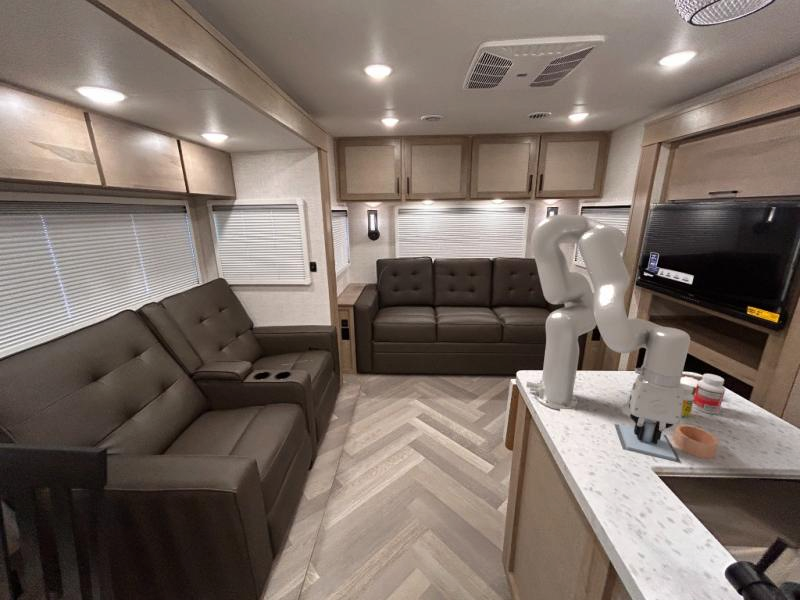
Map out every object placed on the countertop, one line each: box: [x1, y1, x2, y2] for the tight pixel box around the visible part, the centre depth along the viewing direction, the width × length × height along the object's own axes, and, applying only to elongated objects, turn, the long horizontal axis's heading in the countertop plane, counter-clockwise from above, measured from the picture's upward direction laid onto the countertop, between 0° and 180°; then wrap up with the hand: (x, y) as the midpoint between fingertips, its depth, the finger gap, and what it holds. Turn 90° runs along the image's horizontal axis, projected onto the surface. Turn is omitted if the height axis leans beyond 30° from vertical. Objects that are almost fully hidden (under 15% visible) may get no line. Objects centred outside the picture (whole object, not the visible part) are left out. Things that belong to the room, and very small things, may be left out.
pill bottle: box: [692, 373, 726, 415], centre depth 97 cm, size 6×6×11 cm
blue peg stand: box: [618, 419, 676, 461], centre depth 82 cm, size 10×10×6 cm
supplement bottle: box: [680, 383, 694, 418], centre depth 94 cm, size 5×5×10 cm
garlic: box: [680, 376, 699, 387], centre depth 110 cm, size 8×7×4 cm
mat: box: [614, 423, 682, 464], centre depth 83 cm, size 12×11×1 cm
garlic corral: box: [681, 373, 703, 396], centre depth 109 cm, size 11×11×3 cm
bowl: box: [672, 423, 720, 459], centre depth 81 cm, size 8×8×4 cm
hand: (645, 438), depth 83 cm, fingers closed on blue peg stand, 2 cm apart
